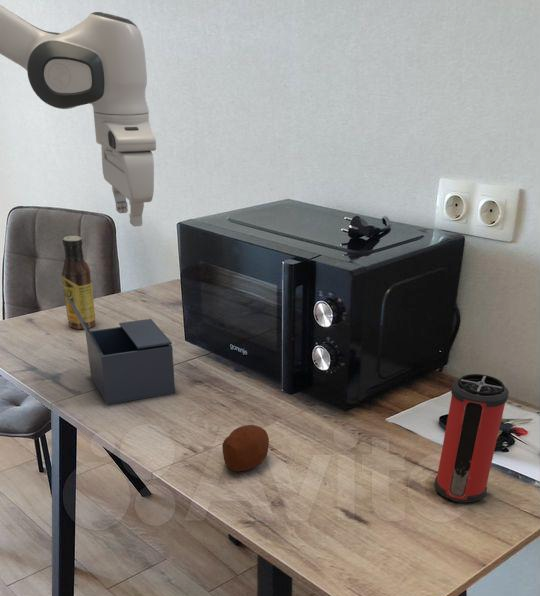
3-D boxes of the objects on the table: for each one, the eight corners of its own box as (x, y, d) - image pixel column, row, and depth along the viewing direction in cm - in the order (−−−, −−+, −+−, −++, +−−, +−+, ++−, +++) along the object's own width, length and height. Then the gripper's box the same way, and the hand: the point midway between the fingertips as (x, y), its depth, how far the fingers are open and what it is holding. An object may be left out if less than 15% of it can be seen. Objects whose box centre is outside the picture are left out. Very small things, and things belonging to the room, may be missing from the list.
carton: (107, 405, 129) (101, 352, 123) (91, 377, 139) (84, 327, 133) (175, 393, 133) (172, 342, 128) (154, 367, 143) (151, 318, 138)
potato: (209, 465, 112) (208, 429, 109) (252, 445, 118) (252, 410, 114) (239, 482, 108) (239, 446, 104) (281, 461, 114) (283, 425, 110)
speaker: (428, 496, 106) (448, 388, 96) (440, 472, 112) (459, 367, 102) (480, 509, 103) (505, 399, 93) (489, 483, 109) (513, 377, 99)
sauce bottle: (66, 322, 163) (53, 234, 152) (93, 319, 165) (82, 232, 155) (72, 332, 158) (59, 242, 147) (99, 328, 160) (89, 239, 150)
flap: (101, 352, 123) (99, 353, 123) (85, 327, 133) (83, 328, 133) (85, 321, 119) (83, 322, 119) (69, 298, 129) (67, 299, 129)
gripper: (89, 123, 122) (97, 206, 130) (119, 141, 107) (126, 234, 115) (125, 122, 124) (130, 204, 132) (159, 140, 109) (163, 231, 117)
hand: (129, 218), depth 123 cm, fingers open, 8 cm apart
